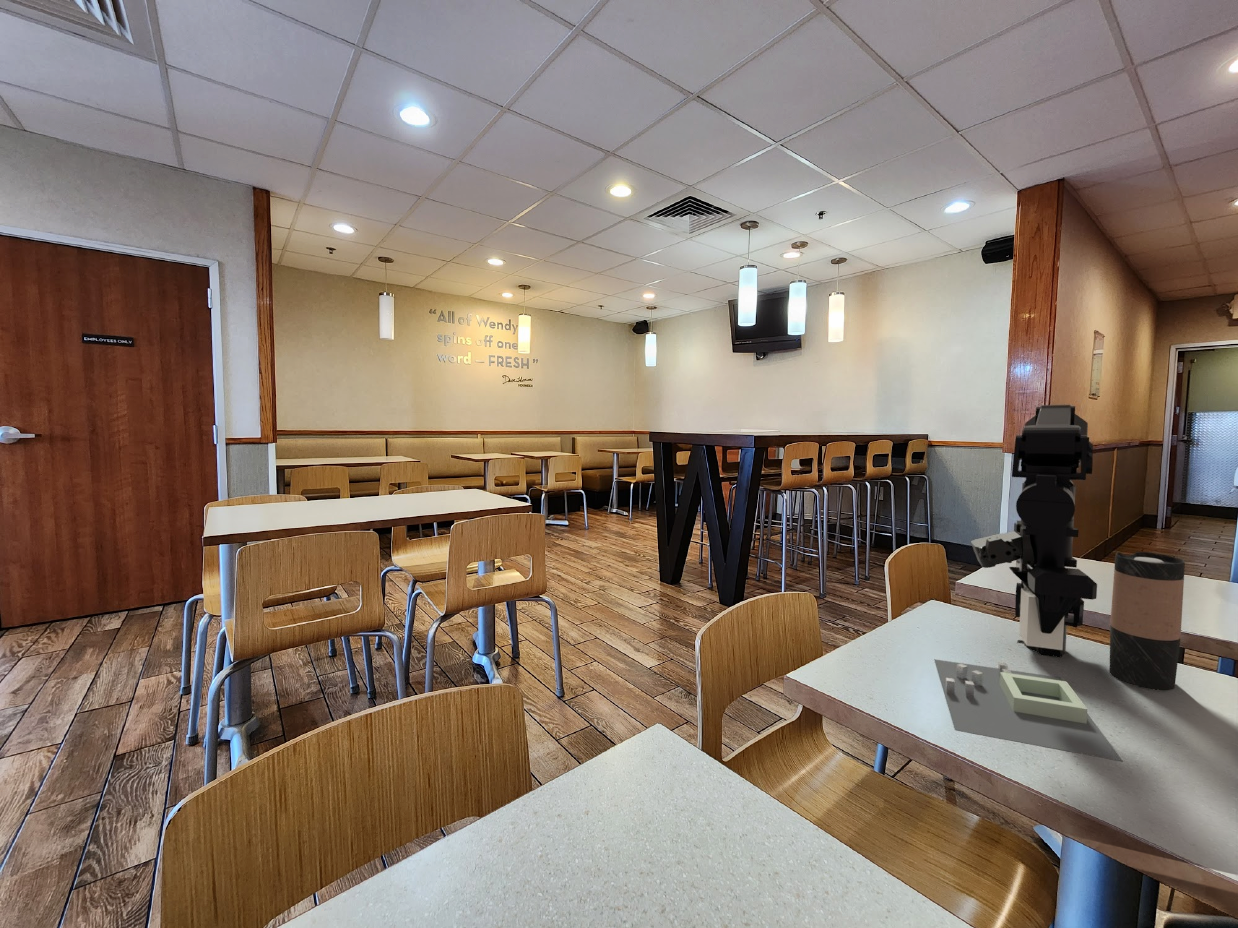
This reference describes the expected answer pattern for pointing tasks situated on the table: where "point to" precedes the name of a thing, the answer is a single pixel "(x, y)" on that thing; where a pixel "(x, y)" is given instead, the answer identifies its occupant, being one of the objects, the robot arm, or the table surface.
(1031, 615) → the beige rectangular block
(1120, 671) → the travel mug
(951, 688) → the set of small cubes
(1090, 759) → the table surface
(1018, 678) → the end holder
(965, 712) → the mat
